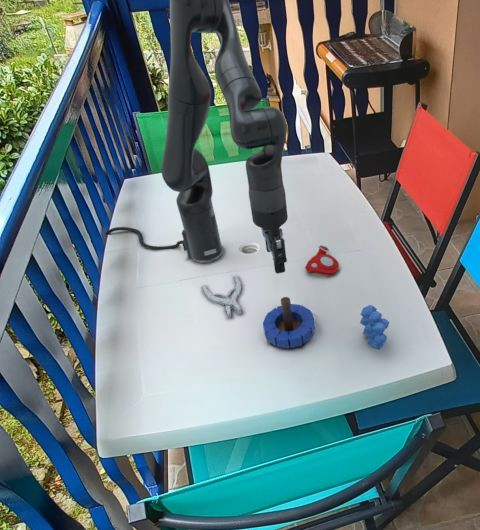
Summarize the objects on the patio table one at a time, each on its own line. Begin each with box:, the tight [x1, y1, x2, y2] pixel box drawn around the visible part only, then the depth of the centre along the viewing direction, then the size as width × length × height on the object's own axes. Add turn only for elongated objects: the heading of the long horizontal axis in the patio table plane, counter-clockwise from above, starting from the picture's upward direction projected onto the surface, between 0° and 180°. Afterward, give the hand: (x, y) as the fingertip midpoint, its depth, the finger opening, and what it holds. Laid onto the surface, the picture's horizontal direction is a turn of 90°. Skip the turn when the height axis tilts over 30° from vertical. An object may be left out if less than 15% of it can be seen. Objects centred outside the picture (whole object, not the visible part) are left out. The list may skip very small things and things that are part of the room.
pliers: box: [202, 275, 243, 319], centre depth 133 cm, size 10×2×15 cm
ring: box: [262, 303, 316, 349], centre depth 123 cm, size 12×12×3 cm
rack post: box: [270, 296, 304, 347], centre depth 121 cm, size 8×8×12 cm
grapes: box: [359, 304, 390, 350], centre depth 119 cm, size 12×7×12 cm, turn 23°
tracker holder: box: [304, 244, 340, 276], centre depth 144 cm, size 12×4×10 cm
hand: (275, 261), depth 115 cm, fingers open, 8 cm apart
